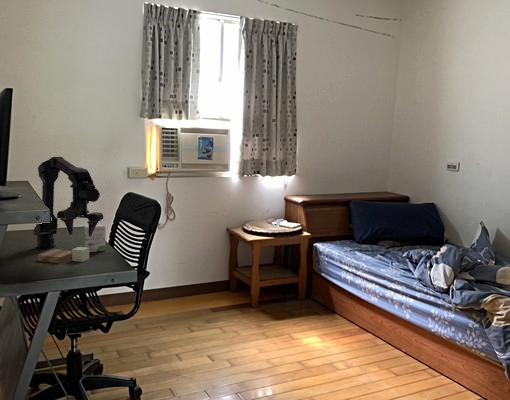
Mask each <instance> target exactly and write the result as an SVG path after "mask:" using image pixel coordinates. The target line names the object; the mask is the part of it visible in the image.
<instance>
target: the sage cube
mask: <svg viewBox="0 0 510 400" xmlns="http://www.w3.org/2000/svg"><path fill="white" fill-rule="evenodd" d="M71 251H72V259H71V261H73V262H78V263H79V262H81V263H83V262H86V261H88V260H90V252H89V248H86V247H85V246H77V247H75V248H72V249H71Z"/></svg>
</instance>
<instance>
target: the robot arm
mask: <svg viewBox="0 0 510 400" xmlns="http://www.w3.org/2000/svg"><path fill="white" fill-rule="evenodd" d="M37 171H38V178H39V179H40V180H41V182H42V188H41V189H42V191H41V194H42V195H41V202H42V201H43V202H44V204H45V205H46V206H47V207H48V208H49V209H50V211H51V217H52V221H51V222H50V223H42V224H36V225H35V226H34V228H33V229H32V230H33V235H34V236H36V239H37V240H36V242H37V244H36V245H37V246H34V248H35V249H42V250H49V249H53V248H54V247H56V244H55V238H54V235H57V231H58V226H59V224H58V219H59V220H60V221H62V222H63V223H64V224H65V226H66V229H67V232H68V234H69V236H70V235H73V230H74V220H76V219H77V218H81V219H87V220H88V221H87V222H86V223H87V224H88V226H89V237H90V236H91V235H92V233H93V231H94V229H95V226H96V225H98V223H99V222H101V221H102V220H104V215H103V212H99V211H98V212H97V211H95V212H90V210H88V204H89V203H90V202H91V203H95V202H97V201H98V200H99V198H100V194H101V193H100V190H98V189H97V188H96V185H95V183H94V180H93V179H92V176H91V173H90V172H89V170H88V169H86V168H84V167H79V166H76V165H73V164H72V163H71V162H69V161H67V160H66V159H65V157H63V156H52V157H50V158H48V159H47V160H45V161H43V162H41V163H40V164H39V165H38V167H37ZM60 172H63V173H64V174H65V175H66V176H68V177H67V179H68V180H69V181H70V182H71V183H72V184H70V186H69V187H70V188H72V201H70V205H69V206H68V207H67V208H66V209H62V210H58V212H57V213H56V216H55V213H54V201H55V200H54V198H55V196H54V195H55V183H56V181H57V179H58V178H59V174H60Z"/></svg>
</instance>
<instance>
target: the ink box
mask: <svg viewBox="0 0 510 400" xmlns="http://www.w3.org/2000/svg"><path fill="white" fill-rule="evenodd" d="M84 247H86V248H89V253H95V252H105V251H107V250H106V249H107V248H106V226H105V225H104V224H97V225H96V226H95V229H94V231H93V233H92V235H91V236H90V237H89V225H84Z"/></svg>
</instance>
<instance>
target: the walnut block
mask: <svg viewBox="0 0 510 400" xmlns="http://www.w3.org/2000/svg"><path fill="white" fill-rule="evenodd" d="M69 260H72V250H69V249H59V248H52V249H50V250H47V251H44V252H41V253H38V254H37V261H38V262H47V263H55V264H62V263H65V262H67V261H69Z"/></svg>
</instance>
